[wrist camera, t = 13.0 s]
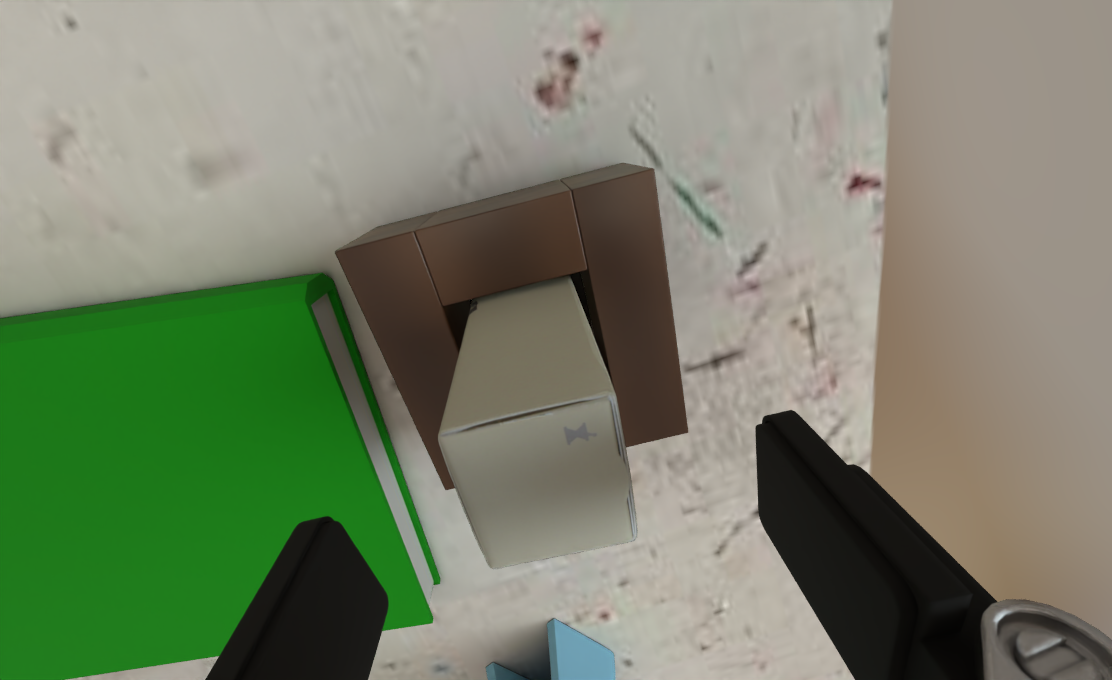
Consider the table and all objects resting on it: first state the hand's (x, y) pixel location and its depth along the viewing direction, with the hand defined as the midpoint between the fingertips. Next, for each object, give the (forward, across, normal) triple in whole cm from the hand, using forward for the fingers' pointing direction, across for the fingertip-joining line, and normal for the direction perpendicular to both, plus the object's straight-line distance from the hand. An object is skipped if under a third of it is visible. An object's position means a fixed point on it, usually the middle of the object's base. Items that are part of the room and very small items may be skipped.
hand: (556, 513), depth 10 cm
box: (+14, 0, 0) cm, 14 cm away
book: (+14, +25, +6) cm, 29 cm away
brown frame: (+14, +1, 0) cm, 14 cm away
